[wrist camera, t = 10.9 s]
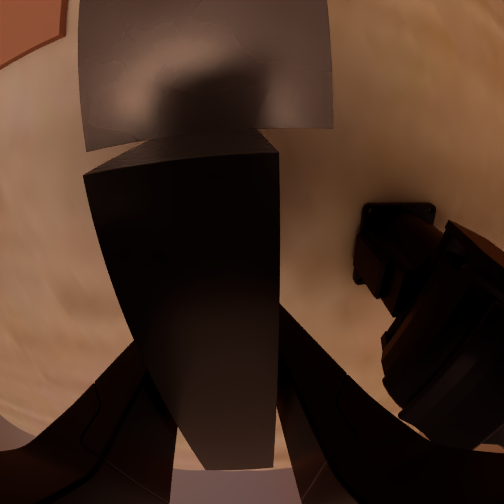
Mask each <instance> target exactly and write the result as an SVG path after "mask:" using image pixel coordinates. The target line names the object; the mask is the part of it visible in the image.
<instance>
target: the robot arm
mask: <svg viewBox="0 0 504 504" xmlns="http://www.w3.org/2000/svg"><path fill="white" fill-rule="evenodd" d="M430 208H431V210H430V211H429V209H430ZM369 209H372V211H371V212H370V213H368V210H369ZM435 213H436V207H435V205H433V204H432V203H368V204H366V205H365V206H364V207H363V210H362V218H361V226H360V232H359V234H358V235H357V240H356V247H355V254H354V261H353V266H354V267H355V268H354V274H353V280H354V282H355V283H356V284H357V285H362V284H366V285H367V287H368V288H369V290H370V291H371V293H372V295H373V296H374V297H375V298H376V299H380V298H381V300H382V301H383V303H384V304H385V306H386V308H387V309H388V311H389V312H390V314H391V315H392V317H396V319H395V320H394V322H393V323H392V325H391V326H390V328H389V329H388V331H385V333H384V334H383V335H382V337H381V344H382V351H383V352H382V359H381V363H382V367H383V372H384V375H385V377H384V378H383V379H382V382H383V385H384V387H385V389H386V390H387V392H388V394H389V395H390V397H391V398H392V399H393V400H394V402H395V403H396V404H397V405H398V406H399V407H401V408H402V409H403V410H402V411H400V412H399V413H398V417H399V419H401V420H403V421H405V422H407V423H409V424H411V425H413V426H415V427H416V428H417V429H418V430H420V431H421V432H423V433H424V434H425V435H426V437H427V438H428V439H429V440H430V441H429V440H427V439H426V438H424V437H422V436H421V435H419V434H418V433H417V432H415V431H414V430H413V429H411V428H410V427H409V426H407V425H406V424H405V423H403V422H402V421H401V420H399V419H398V418H397V417H395V416H394V415H393V414H392V413H390V412H389V411H388V410H386V409H385V408H384V407H383V406H381V405H380V404H379V403H378V402H377V401H375V400H374V399H373V398H372V397H371V396H369V395H368V394H367V393H366V392H365V391H364V390H363V389H362V388H361V387H360V386H359V385H358V384H357V383H356V382H355V381H354V380H353V379H352V378H351V377H350V376H349V375H347V373H346V372H345V371H344V370H343V369H342V368H341V367H340V366H339V365H338V364H337V363H336V362H335V361H334V360H333V359H332V357H331V356H330V355H329V354H328V353H327V352H326V351H325V350H324V349H323V348H322V347H321V346H320V345H319V344H318V343H317V342H316V341H315V340H314V339H313V338H312V337H311V336H310V335H309V334H308V333H307V331H306V330H305V329H304V328H303V327H302V326H301V325H300V324H299V323H298V322H297V321H296V320H295V319H294V318H293V317H292V316H291V315H290V314H289V313H288V312H287V311H286V309H285V308H284V307H283V306H282V305H281V304H280V303H279V346H278V378H277V403H276V406H277V410H278V414H279V418H280V422H281V426H282V430H283V434H284V437H285V441H286V445H287V449H288V453H289V457H290V461H291V465H292V468H293V472H294V476H295V479H296V484H297V487H298V491H299V495H300V499H301V501H302V504H504V453H493V452H483V451H474V449H475V448H476V447H478V446H479V445H480V444H495V445H499V446H501V447H502V448H503V449H504V252H503V251H502V250H501V249H499V248H498V247H497V246H495V245H494V244H493V243H491V242H490V241H489V240H487V239H486V238H484V237H482V236H480V235H478V234H476V233H475V232H473V231H471V230H469V229H467V228H465V227H463V226H461V225H459V224H457V223H455V222H453V221H451V220H448V222H447V224H446V226H445V229H446V230H445V232H444V234H443V233H442V232H441V231H439V230H438V229H437V228H436V227H434V226H433V223H434V218H435ZM359 277H361V278H360V279H358V278H359ZM177 428H178V426H177V424H176V422H175V421H174V419H173V417H172V415H171V414H170V412H169V410H168V408H167V406H166V405H165V403H164V401H163V399H162V397H161V395H160V393H159V391H158V389H157V388H156V386H155V384H154V382H153V380H152V378H151V376H150V374H149V372H148V369H147V367H146V365H145V363H144V361H143V359H142V357H141V355H140V352H139V350H138V348H137V346H136V343H135V341H133V342H132V343H131V344H130V345H129V346H128V347H127V348H126V349H125V350H124V351H123V352H122V353H121V354H120V355H119V356H118V357H117V358H116V359H115V361H114V362H113V363H112V364H111V365H110V366H109V367H108V368H107V369H106V370H105V371H104V372H103V373H102V374H101V375H100V376H99V378H98V379H97V380H96V381H95V384H94V383H93V384H92V385H91V386H90V387H89V388H88V389H87V390H86V391H85V392H84V393H83V394H82V395H81V397H80V398H79V399H78V400H77V401H76V402H75V403H74V404H73V405H72V406H70V407H69V408H68V409H67V410H66V411H65V412H64V413H63V414H62V415H61V416H60V417H59V418H57V419H56V420H55V421H54V422H53V423H52V424H51V425H49V426H48V427H47V428H46V429H45V430H44V431H43V432H42V433H40V434H39V435H38V436H37V437H36V438H35V439H34V440H32V441H31V442H30V443H28V444H27V445H25V446H23V447H20V448H17V449H13V450H6V451H0V504H169V503H170V492H171V481H172V471H173V462H174V453H175V444H176V436H177Z"/></svg>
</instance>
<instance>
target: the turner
mask: <svg viewBox="0 0 504 504" xmlns="http://www.w3.org/2000/svg"><path fill="white" fill-rule="evenodd" d="M78 73H79V91H80V103H81V114H82V123H83V131H84V138H85V145H86V152H89V151H93V150H98V149H102V148H107V147H112V146H117V145H122V144H127V143H132V142H138V141H144V140H149V141H147V142H145V143H143V144H141V145H139V146H137V147H135V148H133V149H131V150H129V151H127V152H125V153H123V154H121V155H119V156H117V157H115V158H113V159H111V160H109V161H107V162H106V163H104V164H102V165H100V166H98V167H97V168H95V169H93V170H91V171H89V172H88V173H86V174H84V175H83V179H84V184H85V189H86V193H87V198H88V202H89V206H90V211H91V215H92V219H93V222H94V226H95V230H96V234H97V237H98V241H99V244H100V248H101V251H102V254H103V257H104V261H105V264H106V267H107V270H108V273H109V276H110V279H111V282H112V285H113V288H114V290H115V293H116V296H117V299H118V301H119V304H120V307H121V309H122V312H123V314H124V317H125V319H126V322H127V324H128V327H129V329H130V332H131V334H132V336H133V339H134V341H135V343H136V346H137V348H138V350H139V352H140V355H141V357H142V359H143V361H144V363H145V365H146V367H147V369H148V372H149V374H150V376H151V378H152V380H153V382H154V384H155V386H156V388H157V389H158V391H159V393H160V395H161V397H162V399H163V401H164V403H165V405H166V406H167V408H168V410H169V412H170V414H171V415H172V417H173V419H174V421H175V422H176V424H177V426H178V427H179V429H180V431H181V432H182V434H183V436H184V437H185V439H186V441H187V442H188V444H189V445H190V447H191V449H192V450H193V452H194V453H195V455H196V456H197V458H198V459H199V461H200V462H201V464H202V465H203V467H204V468H205V470H244V469H260V468H272V467H273V461H274V444H275V425H276V403H277V378H278V346H279V297H280V183H279V152H278V151H277V150H276V149H275V148H274V147H273V146H272V145H271V144H270V143H269V141H268V140H267V139H266V138H265V137H264V136H263V135H262V134H261V133H260V132H259V131H258V130H257V129H266V128H326V129H333V92H332V62H331V44H330V29H329V17H328V6H327V0H80V5H79V22H78ZM150 139H151V140H150Z"/></svg>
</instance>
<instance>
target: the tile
mask: <svg viewBox="0 0 504 504" xmlns="http://www.w3.org/2000/svg"><path fill="white" fill-rule="evenodd" d="M67 3H68V0H0V70H1V69H2V68H4V67H6V66H7V65H9V64H11V63H12V62H14V61H16V60H18V59H20V58H21V57H23V56H25V55H27V54H29V53H31V52H33V51H35V50H37V49H39V48H41V47H43V46H45V45H47V44H49V43H52V42H54V41H56V40H58V39H61V38H63V37H65V32H66V15H67Z"/></svg>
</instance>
